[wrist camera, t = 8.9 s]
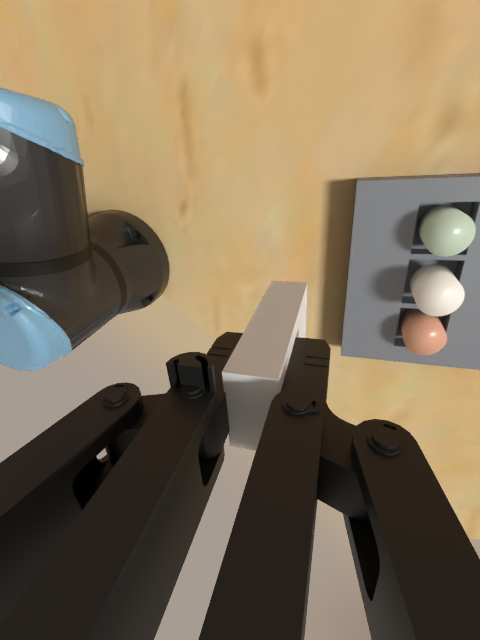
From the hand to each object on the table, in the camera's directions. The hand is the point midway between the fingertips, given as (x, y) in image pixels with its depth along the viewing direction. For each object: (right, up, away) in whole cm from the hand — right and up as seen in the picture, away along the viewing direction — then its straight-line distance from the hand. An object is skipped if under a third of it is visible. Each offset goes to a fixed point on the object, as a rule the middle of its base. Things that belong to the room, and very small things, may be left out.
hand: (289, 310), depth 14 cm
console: (+20, +5, +25) cm, 33 cm away
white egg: (+20, +4, +23) cm, 30 cm away
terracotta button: (+20, -1, +27) cm, 34 cm away
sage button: (+20, +10, +21) cm, 31 cm away
